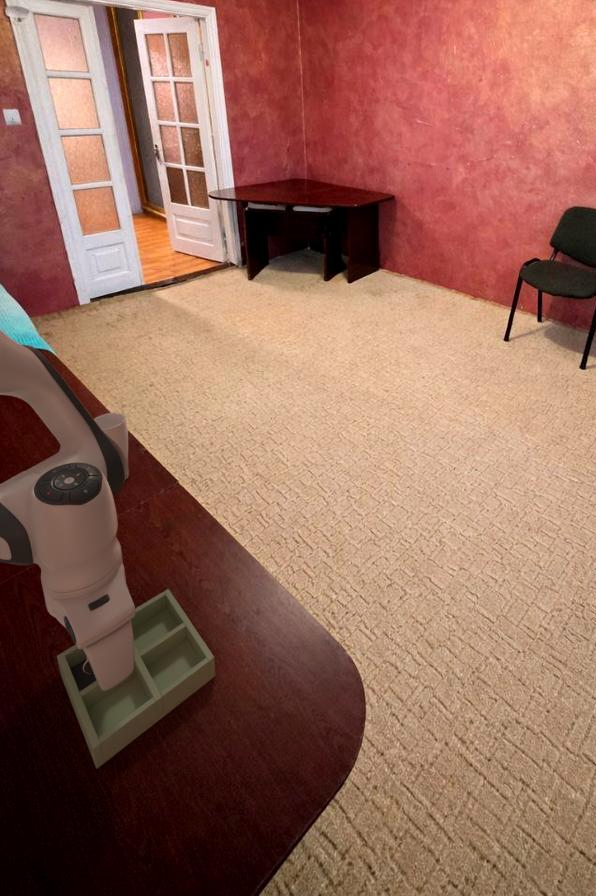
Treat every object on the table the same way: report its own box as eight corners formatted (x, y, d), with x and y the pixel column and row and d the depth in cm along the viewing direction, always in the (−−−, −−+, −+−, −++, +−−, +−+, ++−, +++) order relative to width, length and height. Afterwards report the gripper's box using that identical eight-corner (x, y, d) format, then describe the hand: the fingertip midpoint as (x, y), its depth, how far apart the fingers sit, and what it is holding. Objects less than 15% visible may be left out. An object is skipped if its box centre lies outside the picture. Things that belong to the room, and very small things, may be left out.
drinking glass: (95, 476, 107) (86, 418, 103) (129, 465, 111) (122, 409, 107) (101, 494, 102) (92, 433, 98) (136, 481, 107) (129, 423, 102)
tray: (96, 769, 59) (92, 748, 58) (60, 674, 69) (56, 655, 67) (215, 676, 70) (214, 657, 69) (170, 605, 80) (168, 588, 78)
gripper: (36, 546, 68) (50, 619, 72) (81, 651, 55) (96, 732, 59) (87, 523, 72) (97, 593, 77) (140, 615, 59) (149, 693, 64)
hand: (97, 655), depth 68 cm, fingers closed on wristwatch, 5 cm apart
